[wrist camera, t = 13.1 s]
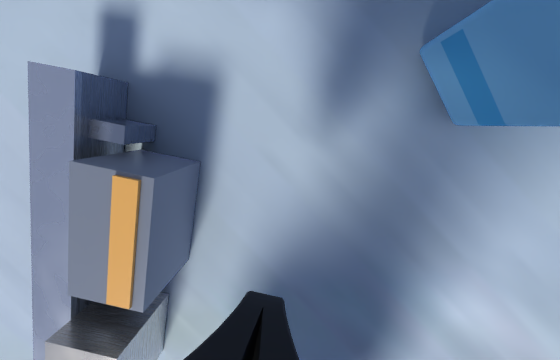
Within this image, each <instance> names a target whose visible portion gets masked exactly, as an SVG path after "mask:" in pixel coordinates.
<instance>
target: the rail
mask: <svg viewBox="0 0 560 360" xmlns="http://www.w3.org/2000/svg"><path fill="white" fill-rule="evenodd" d="M127 92H128V83H127V82H123V81H119V80H115V79H110V78H106V77H102V76H98V75H93V74H89V73H85V72H81V71H76V70H71V69H66V68H61V67H56V66H51V65H45V64H40V63H35V62H30V61H28V98H29V150H30V203H31V256H32V309H33V360H157V359H158V357H159V356H160V354H161V352H162V351H163V343H164V334H165V324H166V315H167V306H168V297H169V294H168V293H163V292H160V293H159V295H158V296H157V297H156V298H155V299H154V300H153V302H152V303H151V304H150V305H149V306H148V307H147V309H146V310H145V311H144V312H143V313H142V312H137V311H133V310H129V309H124V308H120V307H116V306H111V305H107V304H103V303H99V302H94V301H90V300H86V299H81V298H77V297H73V296H69V295H68V233H69V161H72V160H78V159H84V158H91V157H97V156H104V155H110V154H116V153H123V152H124V145H125V144H134V143H143V142H152V141H155V132H156V125H151V124H146V123H141V122H136V121H131V120H126V109H127Z"/></svg>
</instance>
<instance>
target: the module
mask: <svg viewBox="0 0 560 360" xmlns="http://www.w3.org/2000/svg"><path fill="white" fill-rule="evenodd" d="M200 163H201V162H200V161H195V160H190V159H185V158H180V157H175V156H170V155H165V154H160V153H155V152H150V151H145V150H136V151H129V152H123V153H116V154H110V155H104V156H97V157H91V158H84V159H78V160H72V161H69V233H68V295H69V296H73V297H77V298H81V299H86V300H90V301H94V302H99V303H103V304H107V305H111V306H116V307H120V308H124V309H129V310H133V311H137V312H142V313H143V312H144V311H145V310H146V309H147V307H148V306H149V305H150V304H151V303H152V302H153V300H154V299H155V298H156V297H157V296H158V295H159V293H160V292H161V291H162V290H163V289H164V288H165V286H166V285H167V284H168V283H169V282H170V281H171V279H172V278H173V277H174V276H175V275H176V274H177V272H178V271H179V270H180V269H181V268H182V267H183V265H184V264H185V263H186V262H187V261H188V260H189V253H190V245H191V237H192V228H193V220H194V212H195V204H196V196H197V187H198V179H199V171H200Z"/></svg>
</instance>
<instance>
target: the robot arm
mask: <svg viewBox="0 0 560 360" xmlns="http://www.w3.org/2000/svg"><path fill="white" fill-rule="evenodd" d="M184 360H299V358H298V355H297V352H296V349H295V346H294V343H293V339H292V336H291V333H290V329H289V325H288V321H287V317H286V312H285V304H284V300H283V299H282V298H280V297H275V296H271V295H266V294H262V293H258V292H253V291H249V292H247V293H246V295H245V297H244V298H243V300H242V301H241V302H240V304H239V305H238V306H237V307H236V309H235V310H234V311H233V312H232V313H231V314H230V316H229V317H228V318H227V319H226V320H225V321H224V322H223V323H222V324H221V326H220V327H219V328H218V329H217V330H216V331H215V332H214V333H213V334H211V335H210V336H209V337H208V338H207V339H206V340H205V341H204V342H203V343H202V344H201V345H200V346H199V347H198V348H197V349H195V350H194V351H193V352H192V353H191V354H190V355H188V356H187V357H186V358H185V359H184Z"/></svg>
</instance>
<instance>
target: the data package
mask: <svg viewBox="0 0 560 360" xmlns="http://www.w3.org/2000/svg"><path fill="white" fill-rule="evenodd" d="M420 55H421V57H422V59H423V61H424V63H425V65H426V68H427V70H428V72H429V74H430V76H431V78H432V80H433V82H434V84H435V86H436V89H437V91H438V93H439V95H440V97H441V99H442V101H443V103H444V105H445V108H446V110H447V112H448V114H449V116H450V118H451V120H452V122H453V123H454V124H456V125H462V126H560V0H492V1H490V2H489V3H487V4H486V5H484V6H483V7H481V8H480V9H478V10H477V11H475V12H474V13H472V14H471V15H469V16H468V17H466V18H465V19H463V20H462V21H460V22H458V23H457V24H455V25H454V26H452V27H451V28H449V29H448V30H446V31H445V32H443V33H442V34H440V35H439V36H437V37H436V38H434V39H433V40H431V41H430V42H428V43H427V44H425V45H424V46H422V48H421V49H420Z"/></svg>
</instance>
